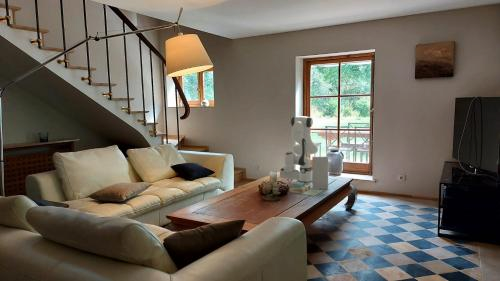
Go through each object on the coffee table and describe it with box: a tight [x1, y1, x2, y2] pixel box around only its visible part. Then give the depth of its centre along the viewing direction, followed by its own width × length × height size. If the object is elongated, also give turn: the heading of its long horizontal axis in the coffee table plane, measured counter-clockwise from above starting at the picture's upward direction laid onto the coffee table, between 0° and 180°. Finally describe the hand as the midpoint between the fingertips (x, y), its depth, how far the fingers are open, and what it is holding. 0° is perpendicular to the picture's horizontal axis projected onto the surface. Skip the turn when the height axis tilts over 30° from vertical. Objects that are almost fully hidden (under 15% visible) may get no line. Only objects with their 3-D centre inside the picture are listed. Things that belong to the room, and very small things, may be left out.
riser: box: [289, 184, 311, 195], centre depth 323 cm, size 18×12×4 cm, turn 144°
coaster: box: [292, 181, 306, 188], centre depth 324 cm, size 8×8×3 cm
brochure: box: [311, 156, 329, 190], centre depth 330 cm, size 14×6×30 cm, turn 84°
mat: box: [302, 188, 325, 197], centre depth 316 cm, size 20×12×1 cm, turn 145°
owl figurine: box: [261, 179, 281, 202], centre depth 297 cm, size 18×12×17 cm, turn 52°
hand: (289, 183), depth 329 cm, fingers closed
